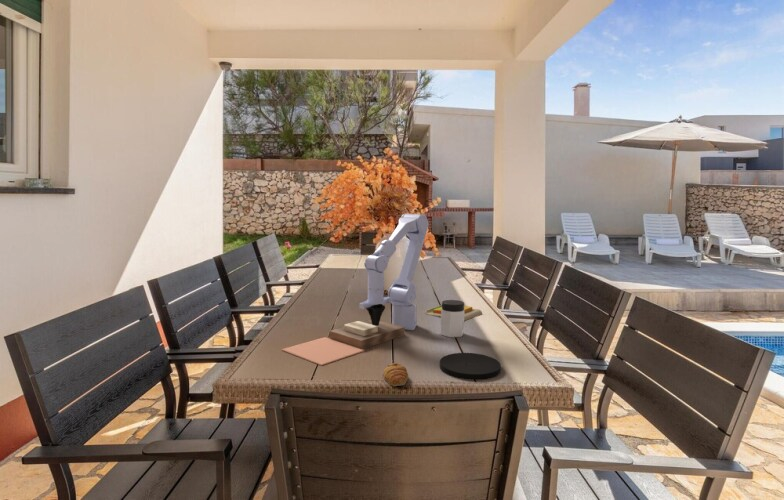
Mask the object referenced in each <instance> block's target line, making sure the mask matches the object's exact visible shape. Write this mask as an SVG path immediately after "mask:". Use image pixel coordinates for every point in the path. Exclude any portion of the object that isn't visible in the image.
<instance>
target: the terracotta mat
mask: <svg viewBox="0 0 784 500" xmlns="http://www.w3.org/2000/svg"><path fill="white" fill-rule="evenodd" d="M281 351H283V352H285V353H288V354H290V355H293V356H296V357H298V358H300V359H303V360H306V361H308V362H311V363H313V364H316V365H319V366H325V365H327V364H330V363H333V362H336V361H339V360H343V359H345V358H348V357H352V356H354V355H358V354H360V353H363V352H365V349H360V348H357V347H353V346H350V345H347V344H344V343H341V342H338V341H335V340H332V339H329V338H328V337H325V336H324V337H321V338H320V337H319V338H317V339H313V340H311V341H309V340H308V341H307V342H302V343H299V344H296V345H292V346H287V347H285V348H281Z"/></svg>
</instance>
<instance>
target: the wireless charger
mask: <svg viewBox="0 0 784 500" xmlns="http://www.w3.org/2000/svg"><path fill="white" fill-rule="evenodd" d="M501 368H502V366H501V363H500V361H498V359H495V358H494V357H491V356H489V355H485V354H481V353H475V352H474V353H473V352H458V353H450V354H447V355H445V356H443V357H441V358H440V360H439V369H440V371H441V372H442V373H444V374H445V375H447V376H450V377H453V378H457V379H461V380H468V381H483V380H489V379H492V378H493V379H494V378H495V377H498V376H499V375H500V374H501Z"/></svg>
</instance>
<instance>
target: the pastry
mask: <svg viewBox="0 0 784 500" xmlns="http://www.w3.org/2000/svg"><path fill="white" fill-rule="evenodd" d="M407 371H408V370H407V368H406V367H405V366H404V365H403V366H402V365H401V364H400V363H397V362H392V363H391V364H387V366H386V367H385V368H384V369H383V373H382V377H383V379H384V381H385V382H386V381H387V382H388V383H387V382H386V383H387V384H389V385H390V386H392V387H397V386H399V387H401V386H405V385H406V383H407V381H408V378H409V373H408V372H407Z"/></svg>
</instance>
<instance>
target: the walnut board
mask: <svg viewBox="0 0 784 500" xmlns="http://www.w3.org/2000/svg"><path fill="white" fill-rule="evenodd" d="M363 322H364V323H368V324H371V325H372V321H371V319H368V320H365V321H364V320H363ZM405 330H406V329H405V327H402V326H398V325H395V324H392V322H391V323H390V322H386V321H382V320H380V322H379V325H378V332H375V333H372V334H369V335H366V336H361V335H358V334H355V333H351V332H348V331H345V330H344V326H342V327H339V328H335V329H332V330H329V332H328V333H329V339H332V340H335V341H338V342H341V343H344V344H347V345H350V346H353V347H357V348H360V349H363V350H365V349H367V348H370V347H372V346H376V345H379V344H382V343H385V342H387V341H390V340H394V339H397V338H400V337H403V336H405V334H406V333H405V332H406V331H405Z"/></svg>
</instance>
